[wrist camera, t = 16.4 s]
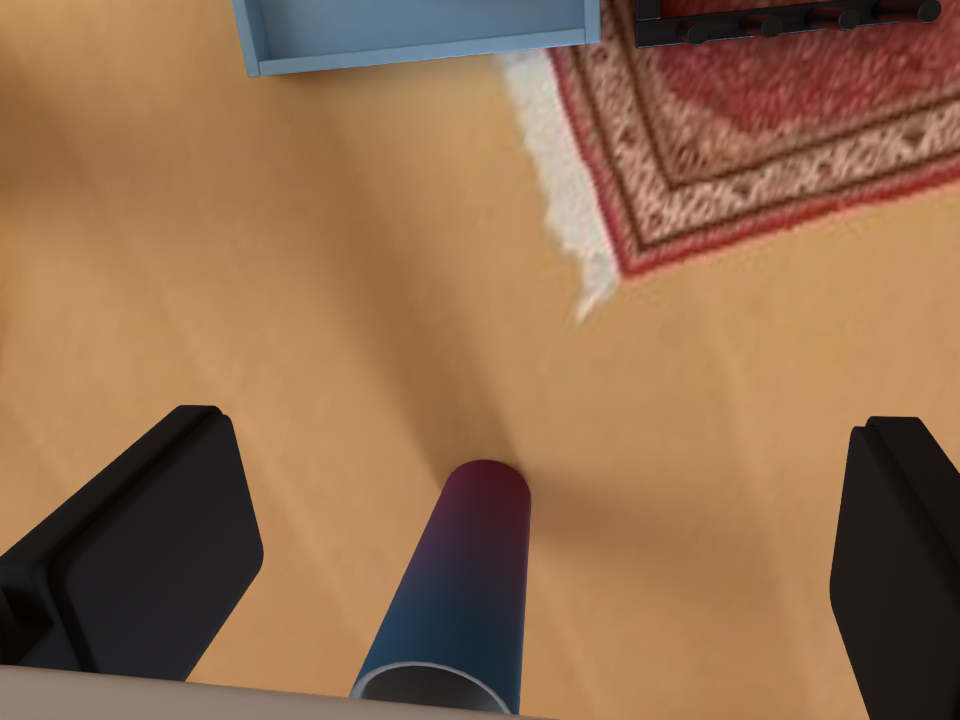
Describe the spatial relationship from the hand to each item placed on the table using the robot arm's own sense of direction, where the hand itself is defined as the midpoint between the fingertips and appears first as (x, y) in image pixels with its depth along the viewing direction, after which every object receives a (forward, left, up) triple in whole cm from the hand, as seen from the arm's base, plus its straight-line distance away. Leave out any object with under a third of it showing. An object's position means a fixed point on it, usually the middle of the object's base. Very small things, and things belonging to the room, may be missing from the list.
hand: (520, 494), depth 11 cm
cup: (+6, +18, -25) cm, 32 cm away
